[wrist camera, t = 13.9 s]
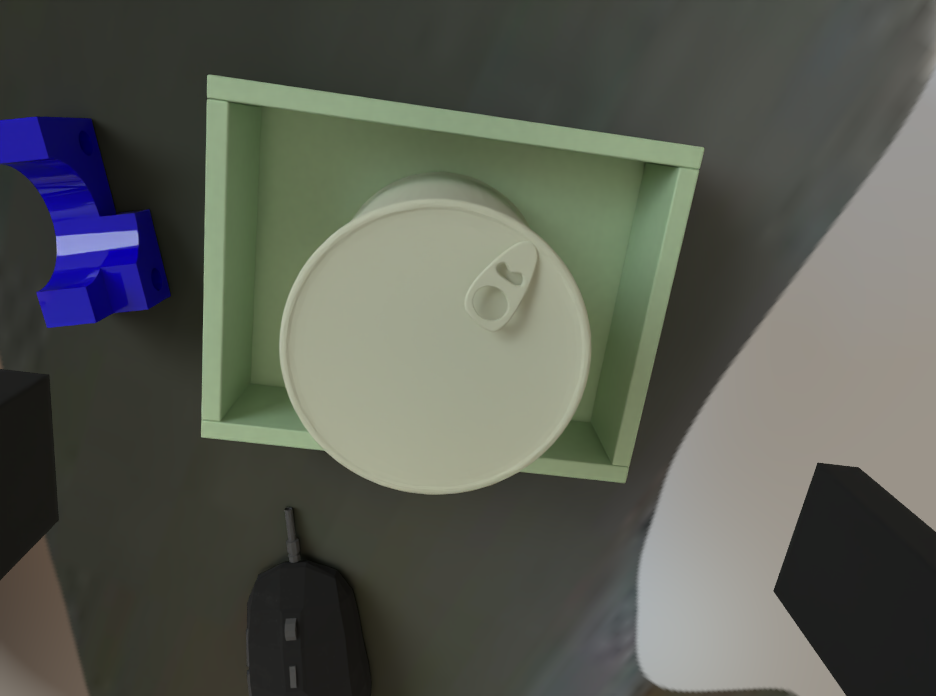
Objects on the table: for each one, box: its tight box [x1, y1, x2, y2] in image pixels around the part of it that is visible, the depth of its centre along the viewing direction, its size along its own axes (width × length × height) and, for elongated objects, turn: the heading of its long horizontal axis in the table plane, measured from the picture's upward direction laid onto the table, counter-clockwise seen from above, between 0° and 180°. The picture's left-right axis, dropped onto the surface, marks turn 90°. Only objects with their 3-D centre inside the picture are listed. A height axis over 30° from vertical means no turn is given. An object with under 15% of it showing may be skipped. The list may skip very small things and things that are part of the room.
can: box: [279, 172, 591, 494], centre depth 25 cm, size 9×9×12 cm
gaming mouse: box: [246, 507, 371, 696], centre depth 35 cm, size 6×15×4 cm, turn 3°
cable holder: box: [0, 117, 171, 328], centre depth 28 cm, size 8×4×4 cm, turn 6°
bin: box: [201, 75, 704, 483], centre depth 29 cm, size 14×18×5 cm
